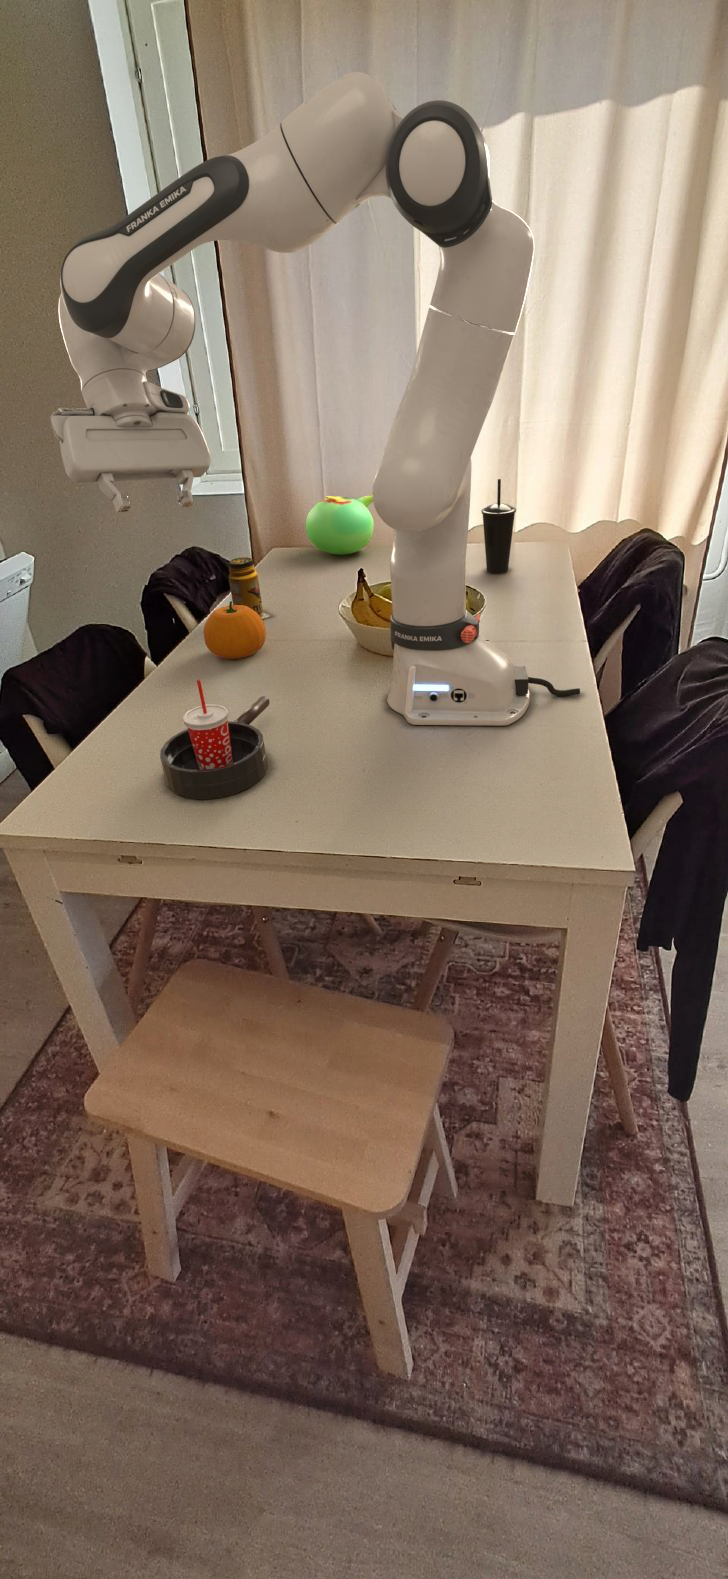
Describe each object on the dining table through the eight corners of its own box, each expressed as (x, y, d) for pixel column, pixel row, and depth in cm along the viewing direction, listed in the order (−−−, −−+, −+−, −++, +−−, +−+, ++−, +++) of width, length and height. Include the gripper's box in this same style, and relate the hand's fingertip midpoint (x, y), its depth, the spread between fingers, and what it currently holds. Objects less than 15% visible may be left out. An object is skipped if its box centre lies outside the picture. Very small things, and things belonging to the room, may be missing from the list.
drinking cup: (516, 574, 174) (519, 481, 163) (482, 576, 174) (483, 484, 164) (511, 564, 180) (514, 474, 170) (479, 567, 181) (479, 477, 170)
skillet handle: (242, 735, 112) (240, 724, 111) (231, 734, 112) (229, 723, 111) (272, 705, 119) (270, 694, 118) (262, 704, 120) (260, 693, 119)
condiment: (270, 616, 162) (262, 560, 156) (234, 627, 159) (224, 569, 152) (255, 608, 168) (247, 553, 161) (220, 618, 164) (210, 562, 158)
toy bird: (296, 556, 200) (289, 498, 192) (339, 540, 211) (334, 484, 203) (348, 565, 190) (342, 504, 182) (390, 548, 200) (387, 489, 192)
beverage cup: (218, 786, 104) (199, 693, 97) (186, 776, 108) (165, 685, 100) (247, 765, 109) (231, 675, 101) (215, 756, 112) (197, 667, 104)
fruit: (233, 637, 153) (225, 588, 148) (280, 645, 148) (273, 594, 142) (194, 659, 145) (184, 608, 140) (242, 668, 140) (233, 615, 134)
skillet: (284, 754, 111) (280, 726, 109) (237, 806, 100) (232, 777, 98) (200, 743, 116) (194, 717, 114) (147, 792, 105) (139, 764, 103)
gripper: (51, 394, 95) (89, 501, 95) (197, 397, 107) (230, 493, 107) (39, 421, 100) (75, 523, 100) (180, 422, 112) (211, 513, 113)
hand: (156, 507), depth 104 cm, fingers open, 8 cm apart
